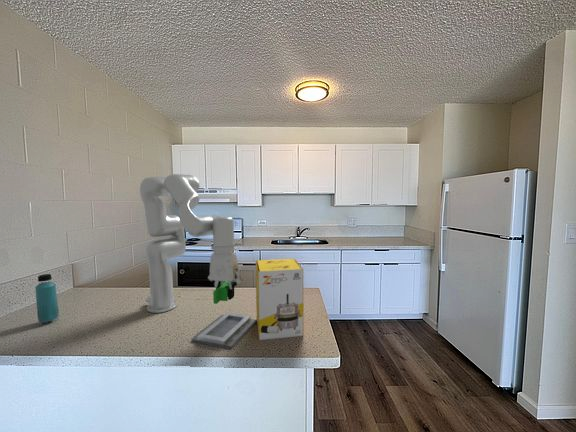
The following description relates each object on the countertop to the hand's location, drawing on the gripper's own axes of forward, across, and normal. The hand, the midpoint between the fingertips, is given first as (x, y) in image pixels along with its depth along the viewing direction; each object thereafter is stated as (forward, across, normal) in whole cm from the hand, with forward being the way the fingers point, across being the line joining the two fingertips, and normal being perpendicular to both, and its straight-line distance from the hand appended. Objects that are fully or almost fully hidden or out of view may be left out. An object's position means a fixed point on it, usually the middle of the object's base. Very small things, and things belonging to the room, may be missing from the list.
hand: (225, 297), depth 100 cm
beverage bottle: (+13, -74, -16) cm, 77 cm away
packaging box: (+14, +18, +9) cm, 24 cm away
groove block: (+13, 0, 0) cm, 13 cm away
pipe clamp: (0, 0, 0) cm, 1 cm away
